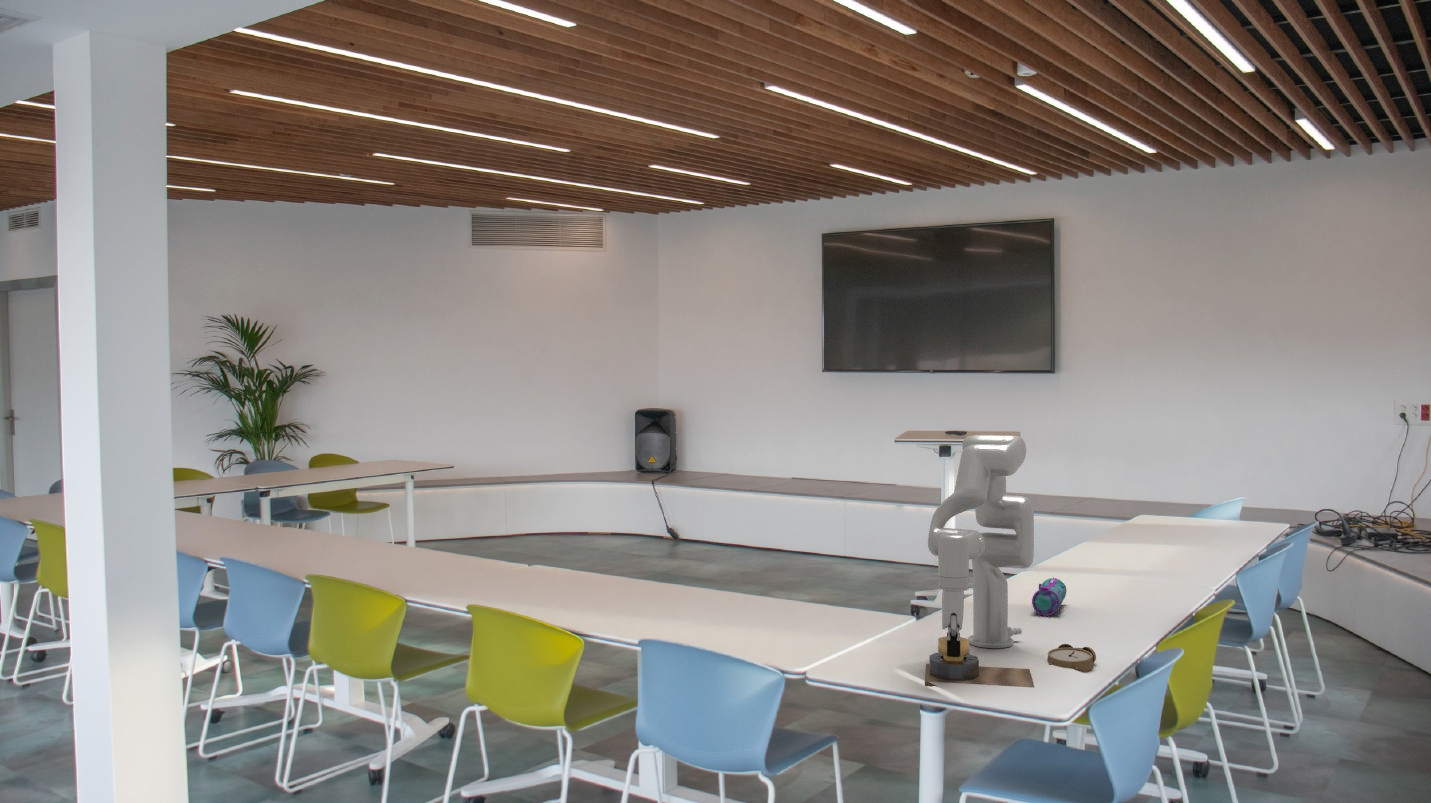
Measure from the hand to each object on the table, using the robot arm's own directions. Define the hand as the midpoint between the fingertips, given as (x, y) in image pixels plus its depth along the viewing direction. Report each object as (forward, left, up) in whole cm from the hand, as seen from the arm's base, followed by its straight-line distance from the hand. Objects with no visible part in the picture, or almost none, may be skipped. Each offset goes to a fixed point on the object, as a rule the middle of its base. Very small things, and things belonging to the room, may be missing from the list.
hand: (953, 651), depth 263 cm
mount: (-5, +3, -7) cm, 9 cm away
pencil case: (-74, -51, -7) cm, 90 cm away
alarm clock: (-36, +2, -7) cm, 37 cm away
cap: (0, 0, -4) cm, 4 cm away
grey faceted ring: (0, 0, -6) cm, 6 cm away
